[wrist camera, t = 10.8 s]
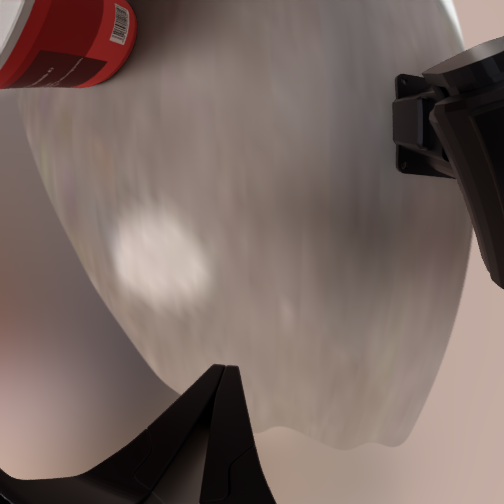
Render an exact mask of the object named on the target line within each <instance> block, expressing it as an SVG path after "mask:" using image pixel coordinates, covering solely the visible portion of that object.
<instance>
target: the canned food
mask: <svg viewBox="0 0 504 504" xmlns="http://www.w3.org/2000/svg"><path fill="white" fill-rule="evenodd" d="M136 35H137V20H136V16H135V13H134V12H133V10H132V8H131V6H130V5H129V3H128V2H127V1H126V0H0V89H9V88H31V87H65V88H85V87H90V86H93V85H95V84H98V83H101V82H103V81H105V80H106V79H108V78H110V77H111V76H112V75H113V74H115V73H116V72H117V71H118V70H119V69H120V67H121V66H122V65H123V64H124V62H125V61H126V59H127V58H128V57H129V55H130V53H131V51H132V48H133V46H134V43H135V40H136Z"/></svg>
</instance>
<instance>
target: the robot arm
mask: <svg viewBox="0 0 504 504" xmlns="http://www.w3.org/2000/svg"><path fill="white" fill-rule="evenodd" d="M422 75H423V76H424V78H423V77H418V76H413V75H407V74H400V75H398V76H397V77H396V78H395V90H396V100H395V101H394V102H393V103H392V107H393V141H394V142H395V143H396V168H397V170H398V171H399V172H401V173H404V174H416V175H426V176H436V177H445V178H453V179H457V181H458V184H459V186H460V189H461V191H462V194H463V197H464V200H465V203H466V205H467V208H468V211H469V214H470V217H471V221H472V224H473V227H474V231H475V234H476V237H477V241H478V245H479V249H480V252H481V256H482V259H483V261H484V263H485V266H486V268H487V270H488V271H489V273H490V276H491V279H492V280H493V281H494V282H495V283H496V284H497V285H498V286H499V287H501V288H502V289H504V36H503V37H500V38H496V39H493V40H490V41H488V42H485V43H482V44H479V45H477V46H475V47H473V48H471V49H468V50H466V51H464V52H462V53H460V54H458V55H456V56H454V57H452V58H450V59H448V60H446V61H444V62H442V63H440V64H438V65H436V66H434V67H432V68H430V69H428V70H426V71H424V72H423V73H422ZM401 78H402V79H404V80H405V82H406V84H405V85H403V84H402V83H401ZM403 162H405V163H406V167H405V168H404V169H402V167H401V164H402V163H403ZM0 504H276V501H275V499H274V497H273V495H272V493H271V490H270V488H269V486H268V484H267V481H266V479H265V476H264V474H263V471H262V468H261V465H260V461H259V457H258V453H257V449H256V446H255V441H254V436H253V432H252V427H251V423H250V418H249V414H248V409H247V405H246V400H245V395H244V390H243V385H242V381H241V376H240V371H239V367H238V366H233V365H227V366H225V365H221V364H213V365H212V366H211V367H210V368H209V369H208V370H207V371H206V372H205V373H204V374H203V375H202V376H201V377H200V378H199V379H198V380H197V381H196V382H195V383H194V384H193V385H192V386H190V387H189V388H188V389H187V390H186V391H185V392H184V393H183V394H182V395H181V396H180V397H179V398H178V399H177V400H176V401H175V402H174V403H173V404H172V405H171V406H170V407H169V408H168V409H166V411H164V412H163V413H162V414H161V415H160V416H159V417H158V418H157V419H156V420H155V421H154V422H152V423H151V424H150V425H149V426H148V427H147V429H145V430H144V431H143V432H141V433H140V434H139V435H138V436H137V437H136V438H135V439H133V440H132V441H131V442H130V443H129V444H127V445H126V446H125V447H123V448H122V449H121V450H119V451H118V452H116V453H115V454H113V455H112V456H110V457H109V458H107V459H106V460H104V461H103V462H102V463H100V464H98V465H97V466H95V467H94V468H92V469H90V470H89V471H87V472H85V473H83V474H80V475H77V476H73V477H64V478H53V479H38V480H21V479H16V478H13V477H11V476H9V475H8V474H6V473H5V472H4V471H3V470H2V469H0Z"/></svg>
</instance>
